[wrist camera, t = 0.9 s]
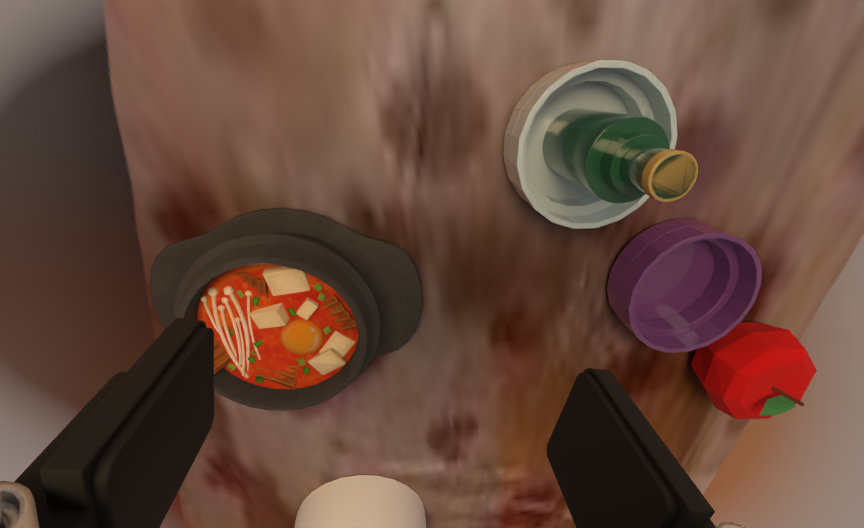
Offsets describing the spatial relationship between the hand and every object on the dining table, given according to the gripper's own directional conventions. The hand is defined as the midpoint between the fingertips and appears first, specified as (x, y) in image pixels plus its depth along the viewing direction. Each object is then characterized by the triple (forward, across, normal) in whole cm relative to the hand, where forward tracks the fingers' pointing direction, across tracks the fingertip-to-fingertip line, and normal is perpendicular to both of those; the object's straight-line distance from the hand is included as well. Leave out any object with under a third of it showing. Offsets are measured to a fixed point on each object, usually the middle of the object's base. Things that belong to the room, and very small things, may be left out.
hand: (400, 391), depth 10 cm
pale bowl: (+29, -15, -5) cm, 33 cm away
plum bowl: (+29, -30, +6) cm, 42 cm away
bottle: (+28, -15, -5) cm, 33 cm away
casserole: (+29, +8, +14) cm, 33 cm away
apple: (+29, -42, +14) cm, 53 cm away
